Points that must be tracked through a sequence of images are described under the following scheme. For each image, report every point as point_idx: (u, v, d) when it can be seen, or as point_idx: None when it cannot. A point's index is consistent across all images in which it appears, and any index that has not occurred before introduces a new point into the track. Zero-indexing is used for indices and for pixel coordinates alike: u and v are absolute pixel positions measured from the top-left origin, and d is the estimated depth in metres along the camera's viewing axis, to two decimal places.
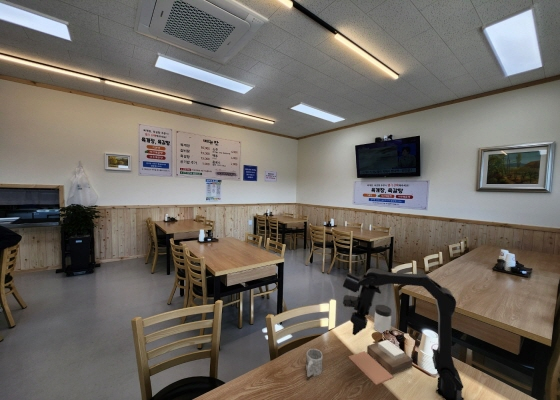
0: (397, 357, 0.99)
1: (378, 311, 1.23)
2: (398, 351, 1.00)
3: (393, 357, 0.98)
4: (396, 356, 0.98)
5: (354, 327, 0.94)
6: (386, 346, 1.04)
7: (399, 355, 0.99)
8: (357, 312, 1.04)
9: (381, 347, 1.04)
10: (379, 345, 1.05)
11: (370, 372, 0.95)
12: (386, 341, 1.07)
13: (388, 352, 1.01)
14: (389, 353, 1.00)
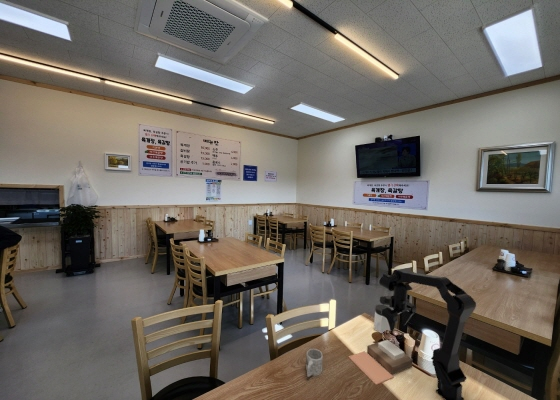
0: (397, 357, 0.99)
1: (378, 311, 1.23)
2: (398, 351, 1.00)
3: (393, 357, 0.98)
4: (396, 356, 0.98)
5: (389, 322, 1.04)
6: (386, 346, 1.04)
7: (399, 355, 0.99)
8: (402, 313, 1.10)
9: (381, 347, 1.04)
10: (379, 345, 1.05)
11: (370, 372, 0.95)
12: (386, 341, 1.07)
13: (388, 352, 1.01)
14: (389, 353, 1.00)
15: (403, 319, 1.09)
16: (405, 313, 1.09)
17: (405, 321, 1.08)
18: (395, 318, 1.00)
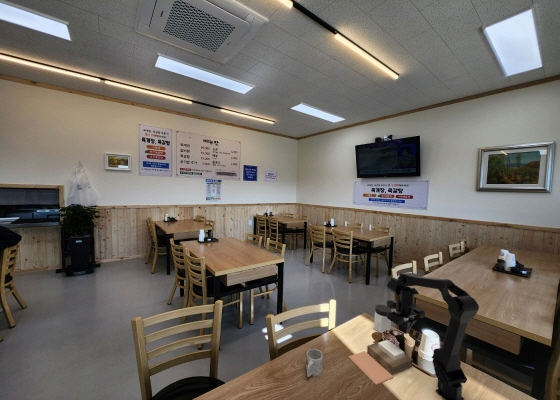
0: (397, 357, 0.99)
1: (378, 311, 1.23)
2: (398, 351, 1.00)
3: (393, 357, 0.98)
4: (396, 356, 0.98)
5: (402, 324, 1.06)
6: (386, 346, 1.04)
7: (399, 355, 0.99)
8: None
9: (381, 347, 1.04)
10: (379, 345, 1.05)
11: (370, 372, 0.95)
12: (386, 341, 1.07)
13: (388, 352, 1.01)
14: (389, 353, 1.00)
15: None
16: None
17: None
18: (400, 322, 1.00)
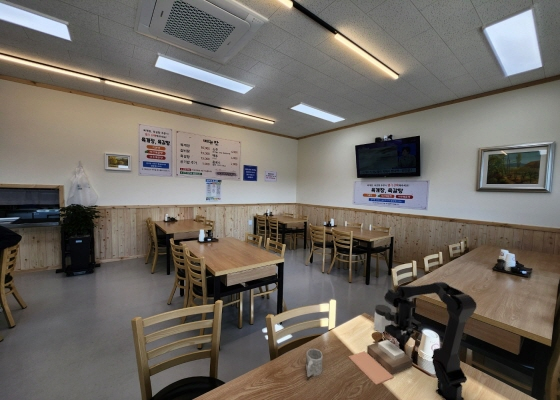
0: (397, 357, 0.99)
1: (378, 311, 1.23)
2: (398, 351, 1.00)
3: (393, 357, 0.98)
4: (396, 356, 0.98)
5: (400, 337, 1.06)
6: (386, 346, 1.04)
7: (399, 355, 0.99)
8: None
9: (381, 347, 1.04)
10: (379, 345, 1.05)
11: (370, 372, 0.95)
12: (386, 341, 1.07)
13: (388, 352, 1.01)
14: (389, 353, 1.00)
15: None
16: None
17: None
18: (398, 335, 1.00)
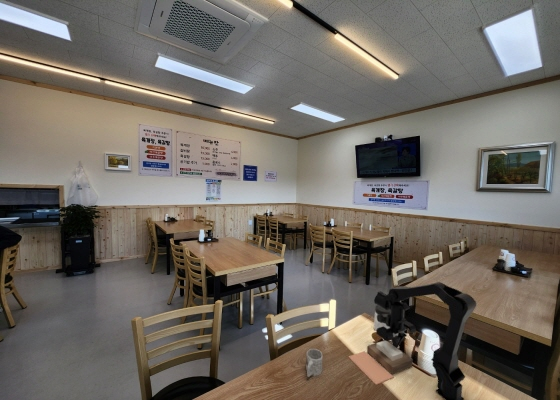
0: (395, 357, 0.98)
1: (378, 311, 1.23)
2: (397, 352, 1.00)
3: (391, 357, 0.98)
4: (394, 356, 0.98)
5: (392, 339, 1.04)
6: (384, 346, 1.03)
7: (398, 355, 0.99)
8: None
9: (379, 347, 1.04)
10: (377, 345, 1.05)
11: (370, 372, 0.95)
12: (385, 341, 1.07)
13: (386, 352, 1.00)
14: (387, 353, 1.00)
15: None
16: None
17: None
18: (390, 338, 0.98)
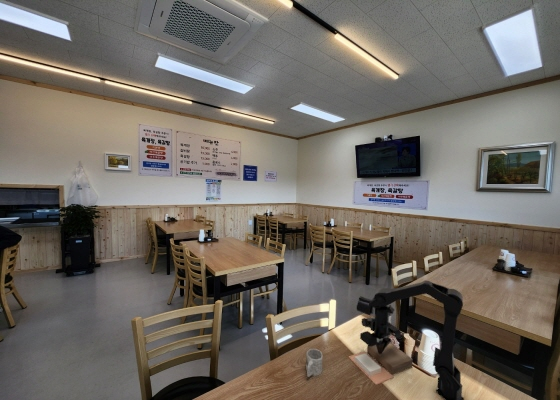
0: (378, 370, 0.94)
1: None
2: None
3: None
4: (379, 371, 0.95)
5: (376, 344, 1.00)
6: None
7: (375, 373, 0.94)
8: None
9: None
10: None
11: None
12: None
13: None
14: None
15: None
16: (381, 340, 1.00)
17: None
18: (373, 343, 0.94)
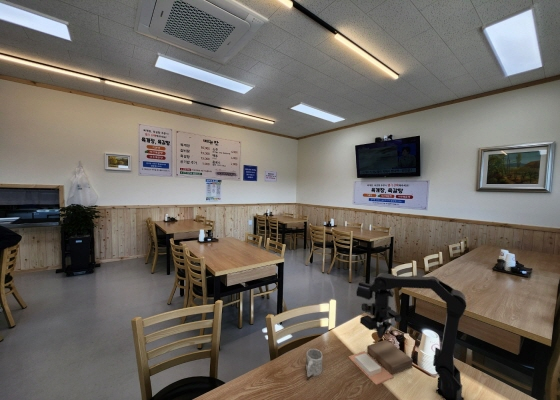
0: (378, 370, 0.94)
1: None
2: None
3: None
4: (379, 371, 0.95)
5: (376, 329, 1.00)
6: None
7: (375, 373, 0.94)
8: None
9: None
10: None
11: None
12: None
13: None
14: None
15: None
16: None
17: None
18: (373, 327, 0.94)
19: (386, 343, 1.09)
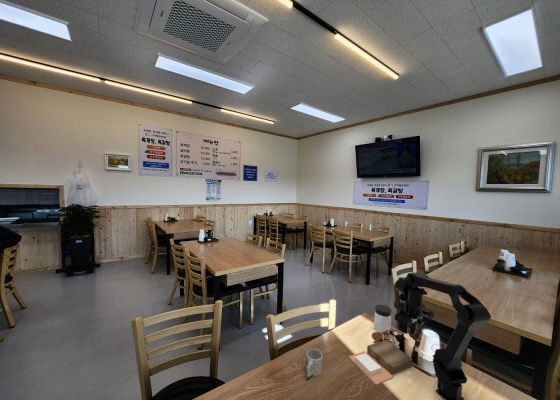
0: (378, 370, 0.94)
1: (378, 311, 1.23)
2: None
3: None
4: (379, 371, 0.95)
5: (410, 325, 1.03)
6: None
7: (375, 373, 0.94)
8: None
9: None
10: None
11: None
12: None
13: None
14: None
15: None
16: None
17: None
18: (409, 323, 0.97)
19: (386, 343, 1.09)
